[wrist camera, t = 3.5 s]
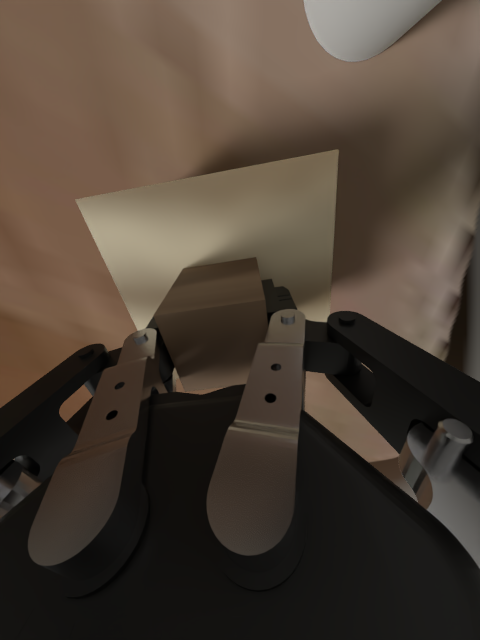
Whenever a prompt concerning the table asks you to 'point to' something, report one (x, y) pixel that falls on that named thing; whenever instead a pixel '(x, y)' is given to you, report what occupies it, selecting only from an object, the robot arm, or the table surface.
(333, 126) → the table surface
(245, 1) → the table surface
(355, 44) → the cylindrical container
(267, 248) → the oak lid
